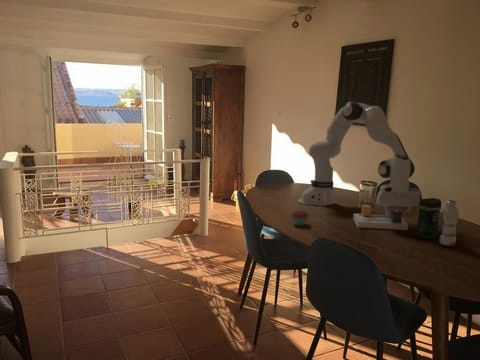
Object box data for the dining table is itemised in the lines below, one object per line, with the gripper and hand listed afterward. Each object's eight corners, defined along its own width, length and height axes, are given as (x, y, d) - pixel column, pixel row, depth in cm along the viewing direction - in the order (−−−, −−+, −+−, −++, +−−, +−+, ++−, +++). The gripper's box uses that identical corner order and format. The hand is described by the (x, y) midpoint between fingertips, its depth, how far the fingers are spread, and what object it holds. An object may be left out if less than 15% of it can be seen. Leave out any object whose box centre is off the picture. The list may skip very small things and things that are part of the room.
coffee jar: (427, 240, 180) (431, 201, 177) (412, 236, 187) (416, 197, 184) (441, 238, 185) (445, 199, 182) (426, 233, 192) (430, 195, 188)
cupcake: (309, 223, 206) (310, 200, 204) (306, 227, 198) (307, 204, 196) (293, 221, 209) (293, 199, 207) (289, 225, 201) (290, 202, 199)
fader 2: (392, 222, 198) (393, 212, 197) (390, 219, 203) (391, 209, 202) (401, 222, 197) (402, 212, 196) (398, 219, 202) (399, 210, 201)
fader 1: (363, 216, 208) (363, 206, 208) (361, 213, 213) (362, 204, 212) (370, 216, 208) (371, 207, 207) (369, 214, 213) (369, 204, 212)
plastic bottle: (435, 243, 178) (440, 199, 174) (449, 242, 178) (454, 199, 175) (443, 248, 171) (448, 202, 168) (458, 247, 172) (464, 202, 168)
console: (357, 227, 200) (358, 221, 199) (353, 218, 215) (353, 213, 215) (407, 229, 197) (408, 223, 196) (399, 221, 212) (399, 215, 212)
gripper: (419, 187, 199) (416, 214, 201) (376, 186, 201) (375, 212, 204) (423, 189, 193) (420, 217, 195) (379, 188, 195) (377, 215, 198)
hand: (397, 214), depth 199 cm, fingers open, 8 cm apart
